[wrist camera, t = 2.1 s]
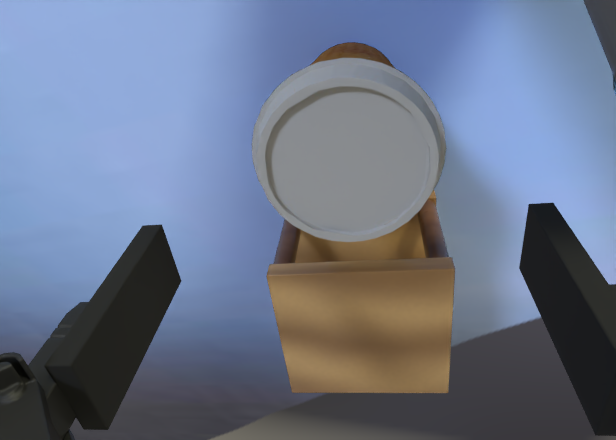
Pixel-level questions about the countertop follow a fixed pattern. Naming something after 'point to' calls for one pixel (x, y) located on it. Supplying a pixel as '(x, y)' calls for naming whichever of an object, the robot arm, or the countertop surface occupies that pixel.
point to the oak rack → (366, 309)
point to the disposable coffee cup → (348, 146)
